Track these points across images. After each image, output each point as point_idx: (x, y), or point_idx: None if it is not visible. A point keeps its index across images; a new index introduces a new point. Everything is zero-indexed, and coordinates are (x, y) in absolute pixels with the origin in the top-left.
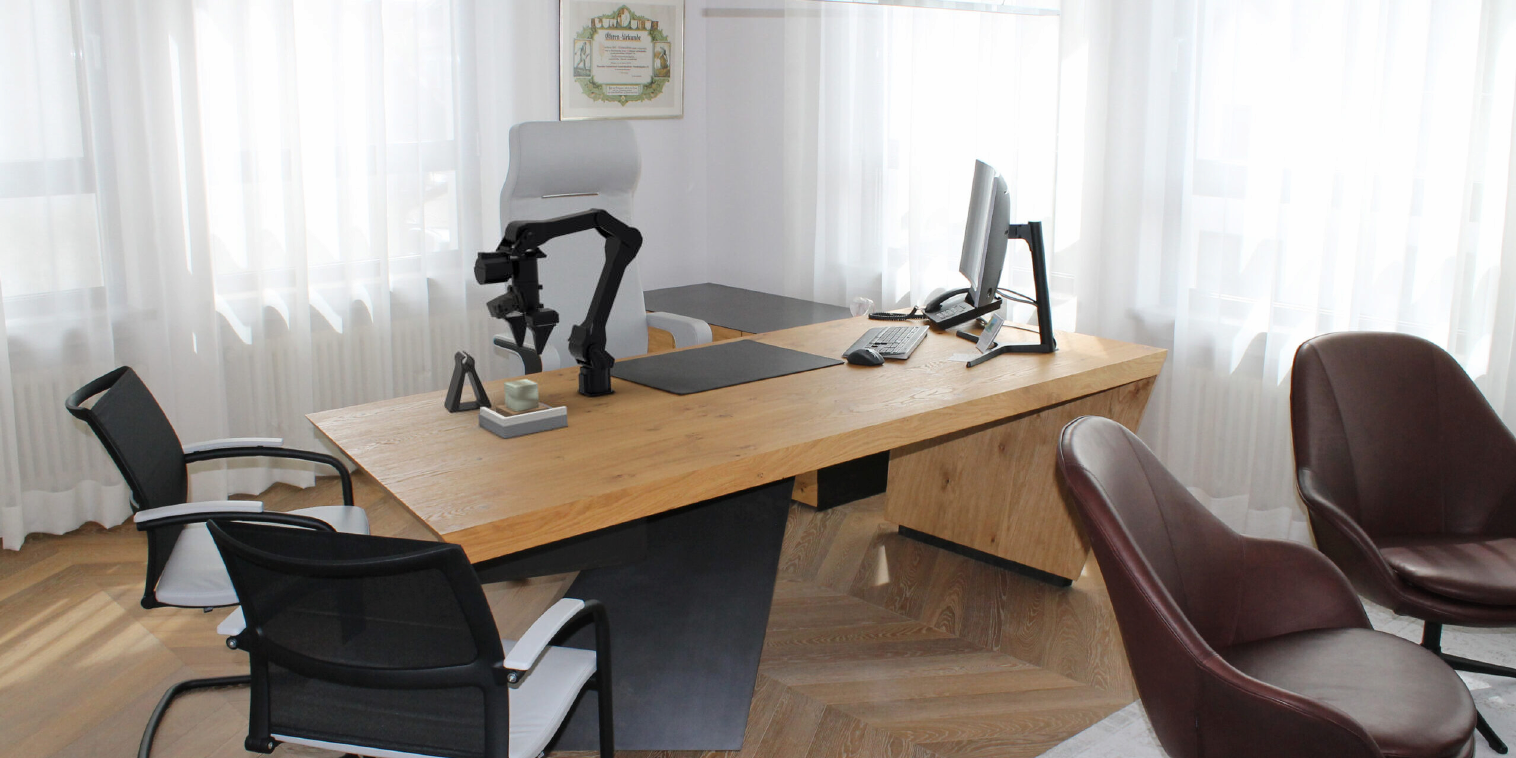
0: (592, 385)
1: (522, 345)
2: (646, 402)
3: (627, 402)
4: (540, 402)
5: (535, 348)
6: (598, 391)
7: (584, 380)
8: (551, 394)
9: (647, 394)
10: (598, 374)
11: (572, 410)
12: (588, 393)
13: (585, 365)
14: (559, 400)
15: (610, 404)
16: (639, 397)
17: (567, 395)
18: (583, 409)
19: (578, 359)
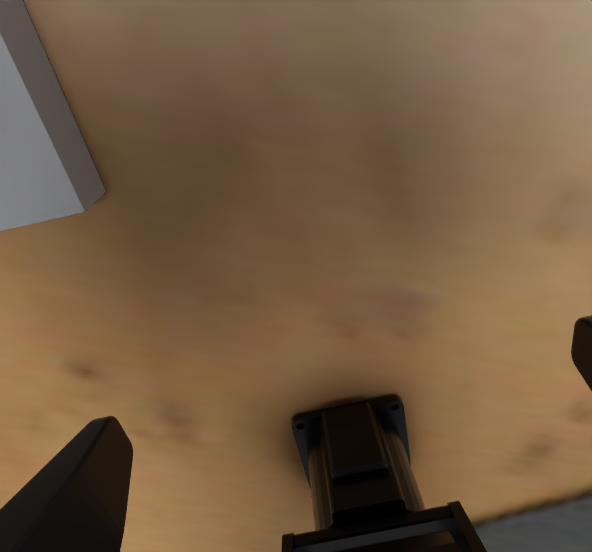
0: (318, 458)
1: (582, 375)
2: (150, 526)
3: (172, 488)
4: (78, 211)
5: (52, 475)
6: (308, 452)
7: (330, 456)
8: (424, 306)
9: (247, 542)
10: (315, 519)
11: (121, 323)
12: (317, 420)
13: (378, 524)
14: (308, 313)
15: (165, 446)
16: (221, 522)
17: (370, 354)
18: (124, 361)
19: (458, 528)
